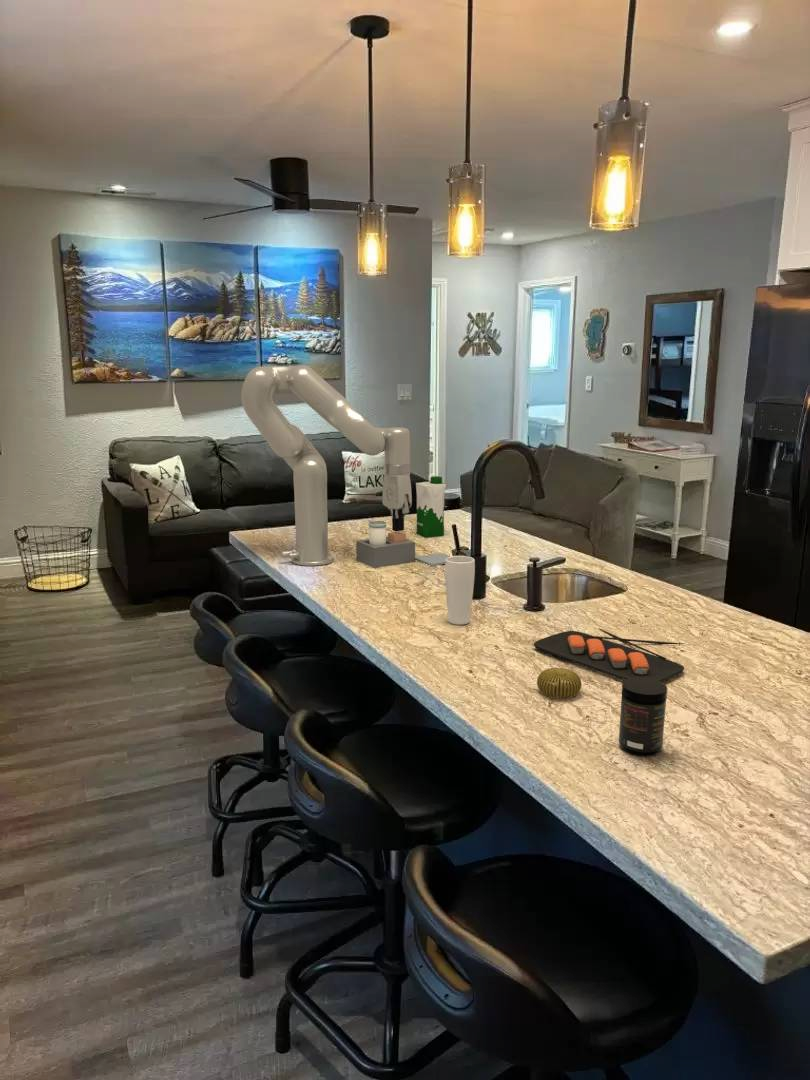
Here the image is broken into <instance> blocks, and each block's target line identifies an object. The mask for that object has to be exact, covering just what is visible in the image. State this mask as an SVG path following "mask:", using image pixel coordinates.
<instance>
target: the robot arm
mask: <svg viewBox="0 0 810 1080" xmlns="http://www.w3.org/2000/svg"><path fill="white" fill-rule="evenodd" d="M240 394H241V395H240V397H241V405H242V408H243V410H244V413H246V416H247V417H248V418H249V420H250V421H251V422H252V425H254V427H255V428H256V429H257V431H258V433H259V434H260V435H261V436H262V437H263V438H264V440H265V441H266V442H267V444H268V445H269V447H270V448H271V449H272V451H273V452H274V454H275V455H277V457H279V458H282V459H283V460H284V461H285V463H286V464H287V465H288V467H290V469H291V470H292V471H293V477H292V478H293V491H294V492H293V493H294V516H295V517H294V519H295V520H294V522H295V525H294V526H295V546H292V548H291V549H290V550H282V551H280V557H281V558H282V559H285V558H288V559H290V561H291V563H292V564H294V565H297V566H306V567H307V566H308V567H309V566H310V567H311V566H312V567H315V566H323V565H328V564H330V563H333V561H334V555H333V554H331V553H329V534H328V533H329V530H328V529H329V528H328V527H329V526H328V471H327V464H326V462H325V461H326V460H325V459H324V458H323V456H322V455H321V453H319V452H318V450H317V449H316V447H315V446H314V445H313V444H312V442H311V441H310V440H309V439H308V438H307V436H306V435H305V433H304V432H303V431H302V430H301V429H300V428H299V427H298V426H296V425H294V424H291V423H290V421H289V420H288V419H287V417H286V416H285V415H284V414H283V412H282V411H281V409H280V407H278V406H277V405H276V403H275V402H274V399H273V396H292V395H296V396H297V397H298V398H299V399H300V400H301V401H303V402H304V403H305V404H306V405H307V406H309V407H310V408H311V409H312V410H313V411H314V412H315V413H317V414H318V415H319V416H320V417H321V418H322V419H324V420H325V422H327V424H329V425H330V426H332V427H333V428H334V429H336V430H337V431H338V432H339V433H341V434H342V435H343V436H344V437H345V438H346V439H347V440H348V441H350V442H351V443H352V444H353V445H354V446H355V447H356V448H358V449H359V450H360V451H361V452H362V453H363V454H365V455H367V456H369V457H370V456H372V457H374V456H377V455H379V454H381V453H382V452H383V451H384V474H383V482H382V505H383V506H385V507H387V509H388V510H389V511H390V516H391V525H392V526H391V528H392V529H391V530H392V532H404V530H405V517H406V514H409V513H410V508H411V507H412V504H413V503H412V502H413V498H412V497H413V496H412V483H411V476H410V475H411V446H410V445H411V442H410V439H411V436H410V430H409V429H408V428H406V427H398V426H397V427H396V426H395V427H388V428H386V427H384V428H383V427H375V426H373V424H371V423H370V422H369V421H368V420H366V418H365V417H363V416H362V415H361V414H360V413H359V412H358V411H357V410H356V409H355V408H354V407H353V406H352V405H351V403H350V402H349V401H348V399H346V398H345V397H344V396H343V395H342V394H341V393H340V392H338V390H337V389H335V388H334V387H333V386H332V385H331V384H329V383H328V381H326V380H325V379H324V378H323V377H322V376H321V375H319V374H318V373H317V372H316V371H315V370H314V369H313V368H312V367H311V366H309V365H303V364H302V365H300V364H299V365H279V366H278V365H277V366H274V365H271V366H270V365H268V366H266V365H265V366H264V365H263V366H256V367H254V368H253V369H251V370H250V371H249V372H248V374H247V375H246V376H245V379H244V381H243V384H242V388H241V393H240Z"/></svg>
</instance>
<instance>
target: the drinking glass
mask: <svg viewBox="0 0 810 1080" xmlns="http://www.w3.org/2000/svg"><path fill="white" fill-rule="evenodd" d="M475 562H476V561H475V558H473V557H472V556H467V555H453V556H451V557H448V558H446V562H445V565H444V580H445V596H446V606H447V607H446V608H447V610H446V611H447V621H448V623H450V624H452V625H458V626H461V625H462V626H463V625H467V624H469V623H470V622H471V617H472V603H473V595H474V585H475V577H476V576H475V574H476V571H475V570H476V569H475V568H476V563H475Z"/></svg>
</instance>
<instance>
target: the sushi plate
mask: <svg viewBox="0 0 810 1080" xmlns="http://www.w3.org/2000/svg"><path fill="white" fill-rule="evenodd" d="M598 630H599V631H601V632H603V633H604V634H606V635H608V637H607V636H598V635H597V636H596V635H591V634H589V633H585V632H581V631H576V630H565V631H562V632H559V633H555V634H552V635H550V636H549V635H548V636H545V637H543V638H540V639H538V640H536V641H534V643H533V646H534V647H535V648H537V649H538V650H540V651H543V652H546V653H549V654H552V655H554V656H556V657H560V658H563V659H565V660H568V661H571V662H574V663H577V664H579V665H582V666H585V667H587V668H591V669H593V670H596V671H598V672H602V673H605V674H607V675H609V676H613V677H616V678H618V679H621V680H623V681H624V680H626V679H629V678H649V679H654V680H657V681H660V682H662V683H663V682H664V681H666V680H669V679H671V678H673V677H675V676H677V675H679V674H681V673H682V672H684V670H685V667H684V666H683V664H680V663H678V662H675V661H673V660H671V659H670V660H669V659H668V658H667V657H665V656H663V655H660V654H658V653H656V652H653V651H650V650H649V649H647V648H644V647H642V646H640V645H637V644H635V642H636V643H643V644H654V645H662V644H679V645H678V646H681V645H680V644H685V643H684V642H683V643H681V642H672V641H659V640H658V641H657V640H644V639H643V640H641V639H631V638H621V637H620V636H617V635H615V634H613V633H611V632H609V631H606V630H604V629H601V628H598ZM611 636H612V637H611ZM611 640H613V641H621V642H623V643H624V644H625V643H626V644H628V645H630V646H633V647H635V648H637V649H635V648H632V647H629V646H625V645H623V644H620V643H616V642H613V641H611ZM639 649H640V650H639Z"/></svg>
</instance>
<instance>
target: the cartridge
mask: <svg viewBox="0 0 810 1080" xmlns="http://www.w3.org/2000/svg"><path fill="white" fill-rule="evenodd" d="M386 537H387V522H386V521H381V520H374V521H369V522H368V539H369V544H370V545H372V546H377V545H384V544H386Z"/></svg>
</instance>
